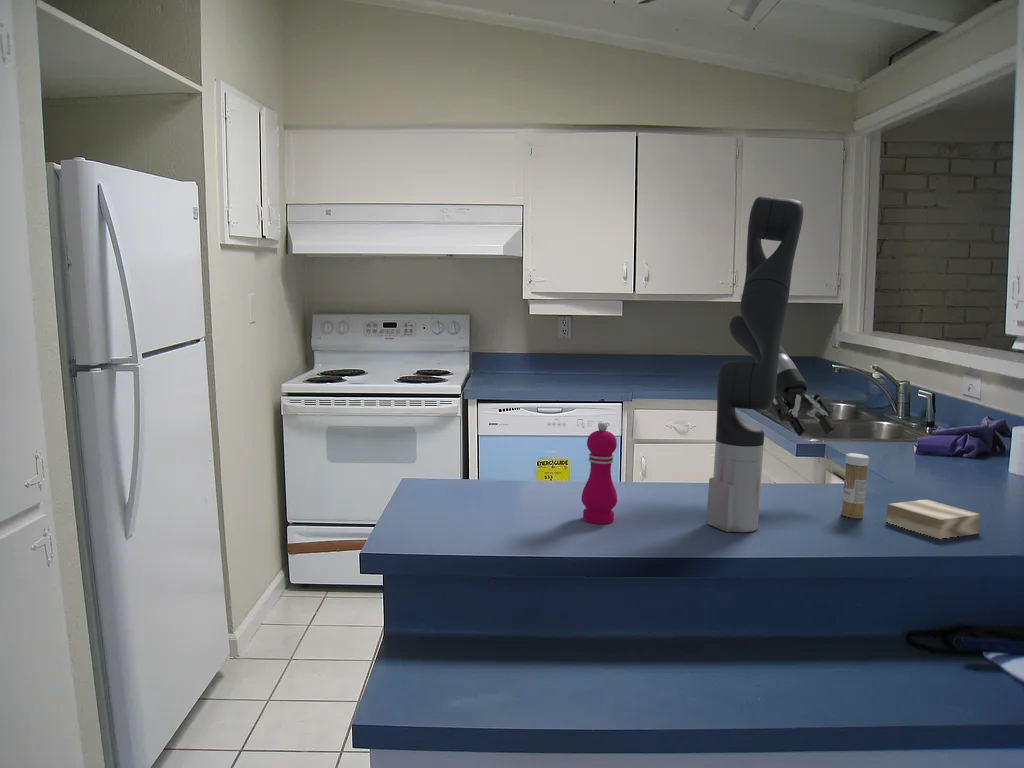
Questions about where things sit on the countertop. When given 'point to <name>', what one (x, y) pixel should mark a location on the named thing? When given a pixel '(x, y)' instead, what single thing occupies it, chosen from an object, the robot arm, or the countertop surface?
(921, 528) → the wooden riser
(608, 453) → the pepper mill
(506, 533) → the countertop surface
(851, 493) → the sprinkles bottle
